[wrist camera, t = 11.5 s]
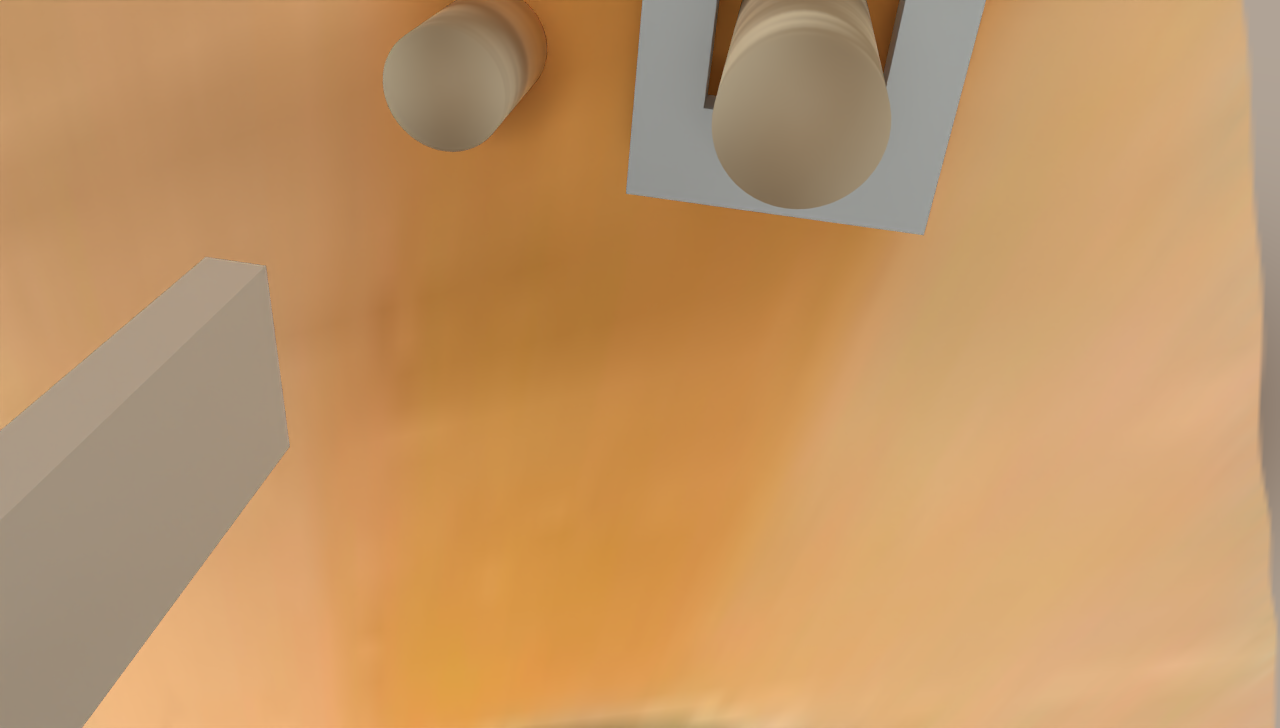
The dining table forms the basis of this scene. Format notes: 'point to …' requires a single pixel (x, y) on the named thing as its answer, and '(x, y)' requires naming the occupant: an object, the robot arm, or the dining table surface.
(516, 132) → the dining table surface
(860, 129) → the long dowel
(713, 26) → the square frame with posts
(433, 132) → the short dowel
